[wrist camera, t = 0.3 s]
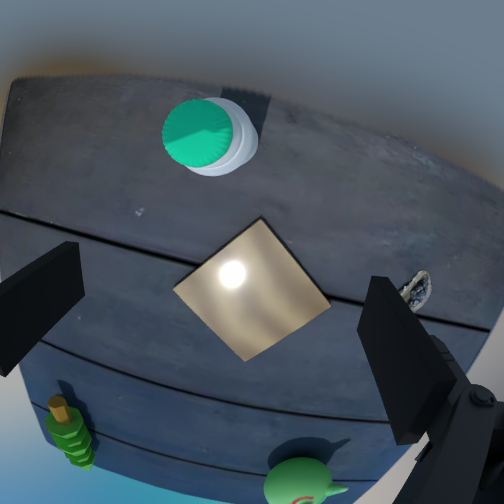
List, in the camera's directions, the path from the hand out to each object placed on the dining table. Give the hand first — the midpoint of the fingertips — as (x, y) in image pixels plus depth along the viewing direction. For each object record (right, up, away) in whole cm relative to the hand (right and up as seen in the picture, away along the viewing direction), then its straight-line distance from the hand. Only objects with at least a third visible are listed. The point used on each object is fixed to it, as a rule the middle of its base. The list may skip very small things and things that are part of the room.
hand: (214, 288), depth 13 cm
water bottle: (-1, +17, +30) cm, 34 cm away
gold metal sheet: (+2, -5, +37) cm, 37 cm away
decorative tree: (-45, -46, +53) cm, 83 cm away
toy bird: (+13, -52, +52) cm, 75 cm away
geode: (+29, -5, +36) cm, 46 cm away
